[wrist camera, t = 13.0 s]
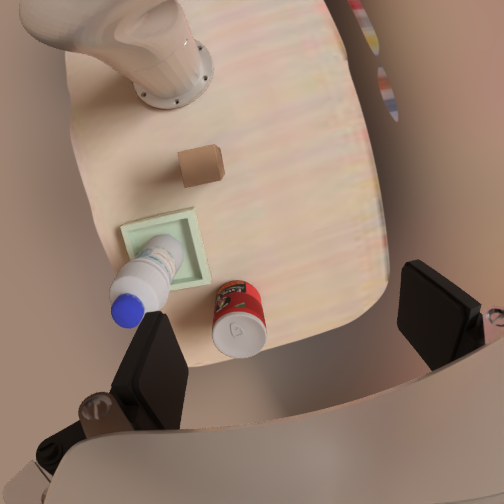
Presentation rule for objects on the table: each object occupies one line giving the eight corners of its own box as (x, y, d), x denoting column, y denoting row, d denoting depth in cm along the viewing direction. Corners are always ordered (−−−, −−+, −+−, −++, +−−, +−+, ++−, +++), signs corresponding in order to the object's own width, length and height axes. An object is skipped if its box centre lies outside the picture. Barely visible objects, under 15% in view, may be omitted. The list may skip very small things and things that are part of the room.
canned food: (241, 270, 45) (243, 303, 35) (269, 302, 48) (278, 341, 37) (206, 295, 46) (199, 333, 36) (235, 325, 49) (236, 366, 38)
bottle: (195, 256, 43) (168, 330, 24) (163, 276, 44) (123, 353, 25) (171, 221, 41) (123, 274, 22) (139, 244, 42) (81, 305, 23)
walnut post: (193, 153, 39) (177, 152, 27) (220, 148, 39) (213, 144, 27) (199, 179, 40) (184, 188, 29) (225, 173, 40) (220, 180, 29)
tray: (125, 222, 41) (120, 226, 39) (194, 206, 41) (192, 209, 39) (146, 288, 45) (142, 295, 43) (211, 277, 45) (210, 284, 43)
